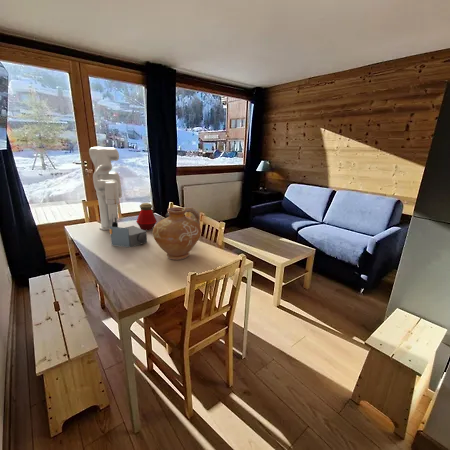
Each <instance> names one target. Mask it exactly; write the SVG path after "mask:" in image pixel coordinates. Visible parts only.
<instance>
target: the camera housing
mask: <svg viewBox="0 0 450 450" xmlns="http://www.w3.org/2000/svg"><path fill="white" fill-rule="evenodd" d="M125 228H128V229H129V241H130V247H131V248H132V247H136V246H138V245H143V244H146V243H148V237H147V236H148V234H147V230H142V229H141V228H140V227H139V226H138V227H137V226H135V225H130V226H126V227H125ZM130 247H129V248H130Z"/></svg>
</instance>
